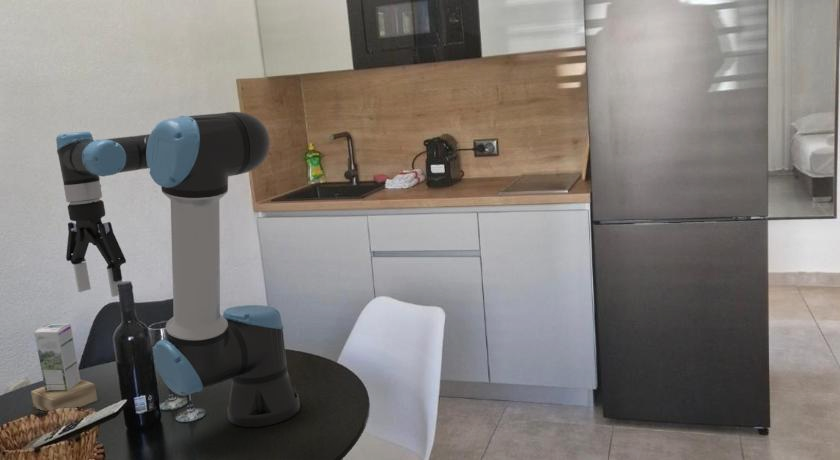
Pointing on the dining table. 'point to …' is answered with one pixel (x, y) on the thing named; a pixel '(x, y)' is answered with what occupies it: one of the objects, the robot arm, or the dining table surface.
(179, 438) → the dining table surface
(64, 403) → the oak riser block
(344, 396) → the dining table surface
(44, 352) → the syrup box
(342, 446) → the dining table surface
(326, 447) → the dining table surface
